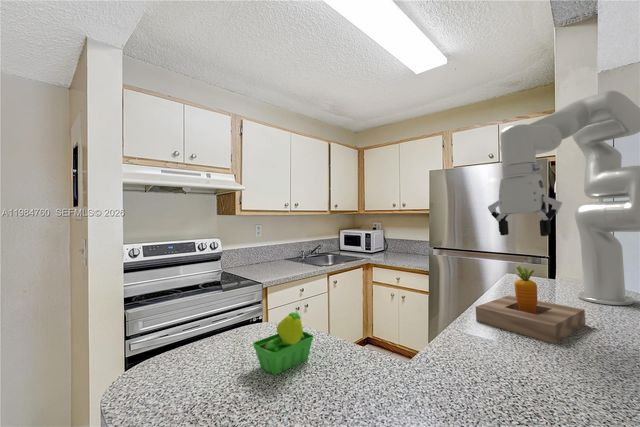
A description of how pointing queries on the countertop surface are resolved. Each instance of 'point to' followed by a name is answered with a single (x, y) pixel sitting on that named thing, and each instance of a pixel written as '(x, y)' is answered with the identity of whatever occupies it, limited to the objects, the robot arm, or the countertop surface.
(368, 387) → the countertop surface
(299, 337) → the fruit basket
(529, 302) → the carrot
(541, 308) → the socket block
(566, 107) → the robot arm
